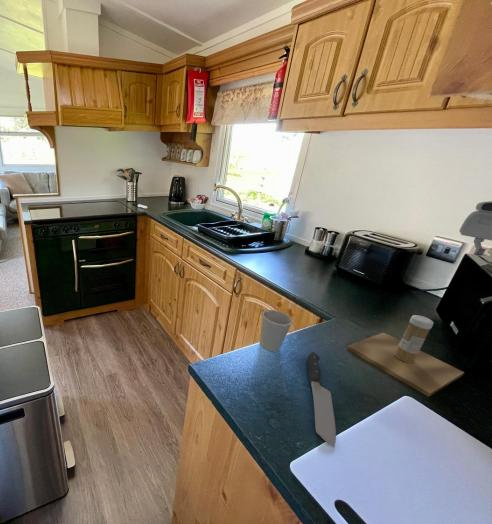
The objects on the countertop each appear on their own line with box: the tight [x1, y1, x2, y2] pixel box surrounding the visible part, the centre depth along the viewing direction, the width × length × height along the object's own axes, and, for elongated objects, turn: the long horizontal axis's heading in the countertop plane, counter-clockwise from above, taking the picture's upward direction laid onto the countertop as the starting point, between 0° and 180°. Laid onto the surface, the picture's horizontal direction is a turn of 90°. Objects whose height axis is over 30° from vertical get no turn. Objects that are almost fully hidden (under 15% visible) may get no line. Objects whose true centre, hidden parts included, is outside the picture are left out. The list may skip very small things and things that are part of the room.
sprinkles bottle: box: [394, 314, 435, 363], centre depth 81 cm, size 5×5×13 cm
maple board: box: [346, 332, 465, 398], centre depth 84 cm, size 20×20×1 cm
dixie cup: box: [259, 309, 294, 352], centre depth 86 cm, size 8×8×10 cm
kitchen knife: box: [306, 351, 337, 448], centre depth 70 cm, size 29×3×5 cm
